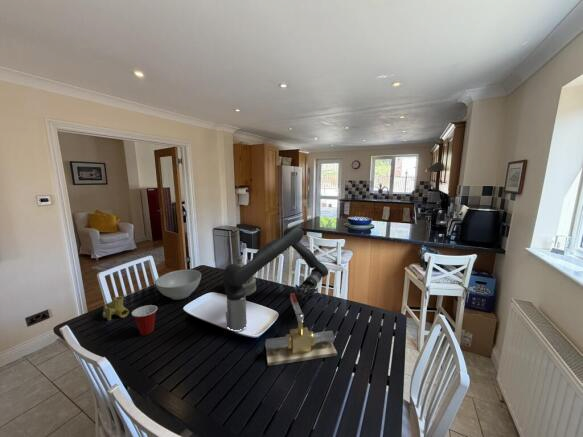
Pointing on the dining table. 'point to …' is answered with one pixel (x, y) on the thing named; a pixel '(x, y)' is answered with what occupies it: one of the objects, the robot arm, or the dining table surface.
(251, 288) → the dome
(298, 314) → the valve lever
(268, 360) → the mounting board
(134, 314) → the plastic cup
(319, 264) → the robot arm
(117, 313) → the ball valve
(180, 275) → the decorative bowl
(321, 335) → the valve line
